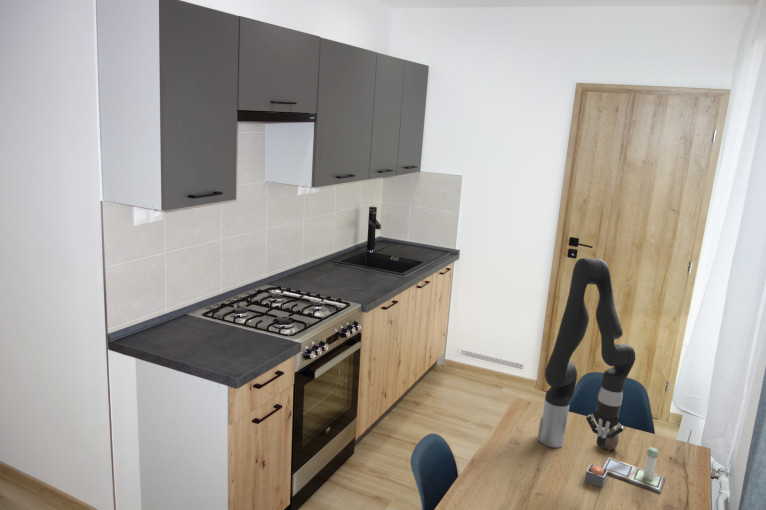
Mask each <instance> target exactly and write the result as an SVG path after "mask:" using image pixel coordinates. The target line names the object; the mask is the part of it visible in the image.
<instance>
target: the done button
mask: <svg viewBox="0 0 766 510" xmlns="http://www.w3.org/2000/svg"><path fill="white" fill-rule="evenodd" d="M590 472H592V473H595V474H597V475H600V476H603V475H604V469H603V468H602V466H599V465H596V466H591V470H590Z"/></svg>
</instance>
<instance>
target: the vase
mask: <svg viewBox="0 0 766 510" xmlns="http://www.w3.org/2000/svg"><path fill="white" fill-rule="evenodd" d="M614 430H616V427H615V426H614V427H613V428H611V429H610V430H609V433H611V432H612V431H614ZM603 433H604V429H603ZM619 440H620V439H619V434H617V435H616V436H614V437H613V438H611V439H610V438H607V440H606V444H605V446H603V447H602V448H603V449H604V450H607V451H612V450H614V449H616V448H617V447H618V445H619Z"/></svg>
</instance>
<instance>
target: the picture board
mask: <svg viewBox="0 0 766 510" xmlns="http://www.w3.org/2000/svg"><path fill="white" fill-rule="evenodd" d="M601 468H604V469H607V470H608V473H607V476H610V477H613V478H616V479H618V480H622V481H624V482H628V483H631V484H633V485H635V486H638V487H642V488H644V489H647V490H650V491H652V492H655V493H658V494H661V490H662V489H663V488H662V487H663V485H664V482H665V479H666V476H664V475H660V474H658V473H656V472H654V476H653V480H651V481H650V480H646V479H644V478H643V474H644V469H645V468H644V469H643V468H641V467H638V466H634V465H632V464H629V463H627V462H623V461H620V460H617V459H615V458H612V457H608V456H607V458H606V460H605V461H604V464H603V465H602V466H601Z"/></svg>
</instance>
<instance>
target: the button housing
mask: <svg viewBox="0 0 766 510" xmlns="http://www.w3.org/2000/svg"><path fill="white" fill-rule="evenodd" d="M591 466H597V465H596V464H593V463H590V464H589V466H588V467H587V469H586V472H585V475H584V476H585V477H584V482H586V483H587V484H591V485H593V486H595V487H596V486H597V487H599V488H602V489H603V487H604V486H605V483H606V481H607V479H608V474H607V473H608V470H607V469H604V468H603V469H604V475H603V476H600V475H597V474H595V473H592V472H590V470H591Z"/></svg>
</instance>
